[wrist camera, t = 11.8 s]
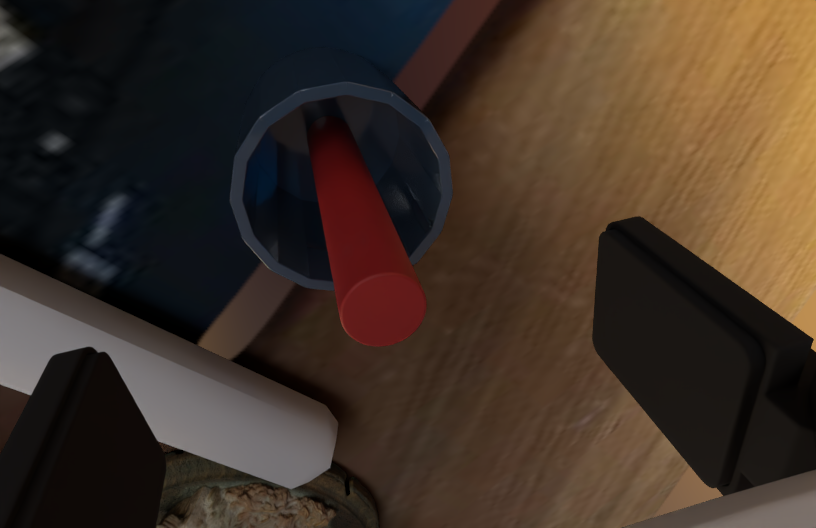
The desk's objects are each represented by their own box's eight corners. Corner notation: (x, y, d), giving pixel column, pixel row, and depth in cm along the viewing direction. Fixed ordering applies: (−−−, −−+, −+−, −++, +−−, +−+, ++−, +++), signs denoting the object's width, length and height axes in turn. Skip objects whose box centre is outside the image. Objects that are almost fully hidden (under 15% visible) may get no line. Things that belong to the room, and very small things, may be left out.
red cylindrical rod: (302, 120, 23) (331, 285, 11) (347, 111, 24) (421, 264, 12) (312, 163, 24) (349, 356, 12) (355, 155, 25) (432, 336, 13)
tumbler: (221, 63, 22) (198, 108, 15) (391, 33, 23) (440, 63, 16) (268, 219, 26) (265, 311, 19) (413, 188, 27) (460, 266, 20)
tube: (368, 436, 29) (-237, 162, 17) (313, 522, 29) (-339, 305, 17) (338, 392, 33) (-153, 154, 22) (291, 466, 33) (-231, 265, 21)
